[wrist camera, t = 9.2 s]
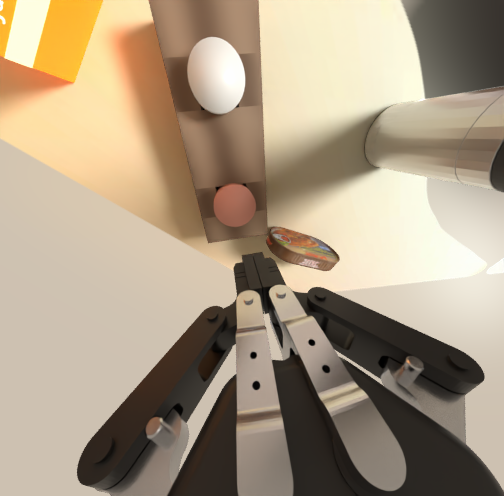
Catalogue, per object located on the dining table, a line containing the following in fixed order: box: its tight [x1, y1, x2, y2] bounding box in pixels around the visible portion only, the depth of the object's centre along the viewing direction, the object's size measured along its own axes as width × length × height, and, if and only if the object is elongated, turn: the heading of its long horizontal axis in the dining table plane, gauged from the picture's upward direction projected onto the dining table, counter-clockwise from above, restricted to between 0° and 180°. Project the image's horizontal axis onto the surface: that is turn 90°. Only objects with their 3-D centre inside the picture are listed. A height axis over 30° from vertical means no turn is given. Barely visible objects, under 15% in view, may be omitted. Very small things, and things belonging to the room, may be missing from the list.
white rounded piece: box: [187, 37, 245, 115], centre depth 21 cm, size 6×6×6 cm
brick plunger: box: [214, 183, 256, 227], centre depth 27 cm, size 6×6×6 cm
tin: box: [266, 227, 340, 271], centre depth 35 cm, size 15×3×8 cm, turn 68°
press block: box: [149, 0, 268, 243], centre depth 26 cm, size 10×26×5 cm, turn 5°
